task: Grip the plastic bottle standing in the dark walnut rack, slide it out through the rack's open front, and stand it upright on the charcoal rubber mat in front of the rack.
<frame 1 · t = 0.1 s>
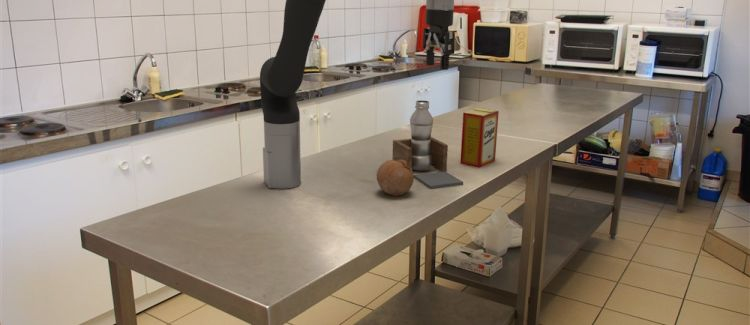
hand: (437, 67, 173), 29 cm above the table, fingers open, 8 cm apart
walnut rack: (419, 169, 179), on the table
rubber mat: (437, 181, 169), on the table
baking soda box: (477, 163, 187), on the table
plastic bottle: (419, 170, 179), on the table
onion: (394, 194, 159), on the table
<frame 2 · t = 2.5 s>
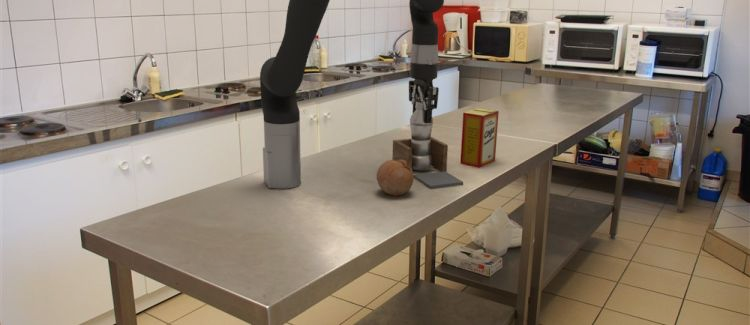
hand: (421, 120, 174), 15 cm above the table, fingers closed on plastic bottle, 6 cm apart
plastic bottle: (419, 170, 179), on the table, touching gripper
everything else where it was.
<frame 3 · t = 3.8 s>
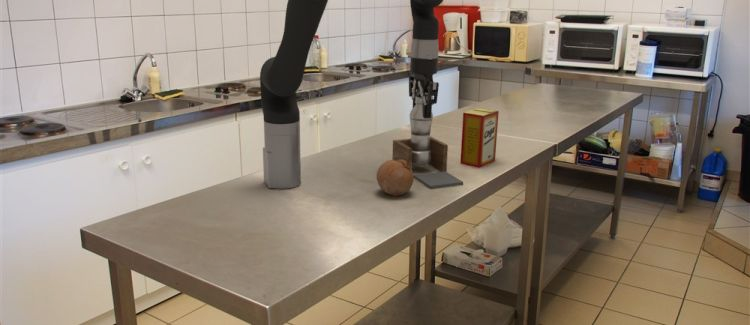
hand: (421, 115, 174), 16 cm above the table, fingers closed on plastic bottle, 6 cm apart
plastic bottle: (419, 166, 178), point 1 cm above the table, touching gripper
everything else where it was.
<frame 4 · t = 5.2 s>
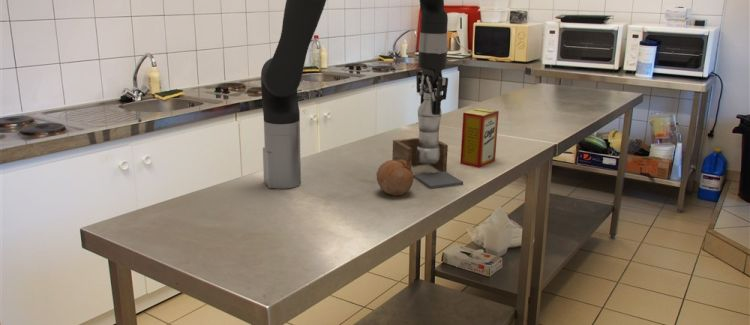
hand: (430, 111, 169), 18 cm above the table, fingers closed on plastic bottle, 6 cm apart
plastic bottle: (427, 163, 174), point 3 cm above the table, touching gripper
everything else where it was.
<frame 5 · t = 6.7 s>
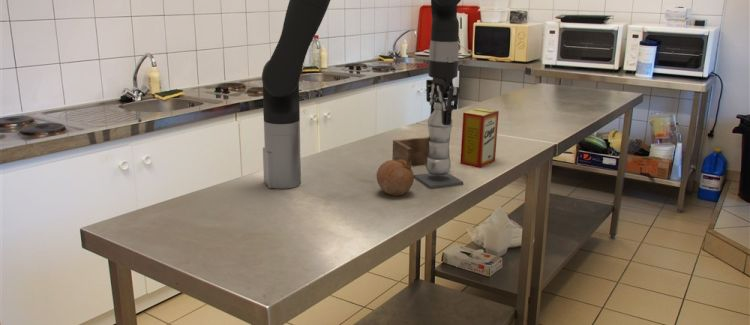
hand: (440, 121, 164), 17 cm above the table, fingers closed on plastic bottle, 6 cm apart
plastic bottle: (437, 175, 168), point 2 cm above the table, touching gripper
everything else where it was.
when the fingers open (16 cm above the table, at t = 7.6 s): plastic bottle stays where it is, resting on rubber mat.
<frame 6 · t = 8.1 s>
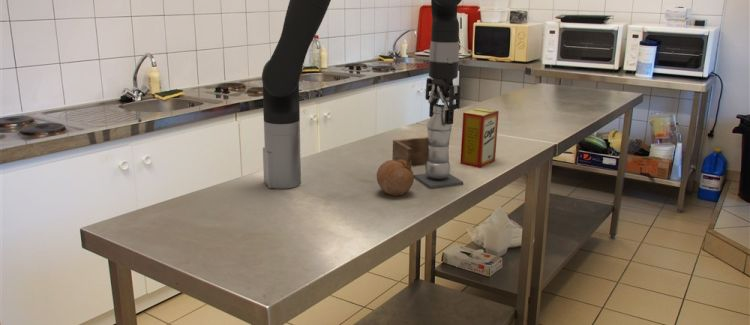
hand: (440, 120, 164), 17 cm above the table, fingers open, 8 cm apart
plastic bottle: (437, 178, 169), point 1 cm above the table, touching rubber mat
everything else where it was.
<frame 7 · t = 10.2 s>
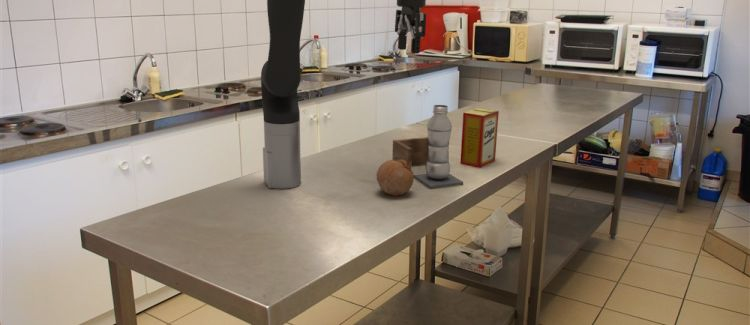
hand: (408, 51, 164), 34 cm above the table, fingers open, 8 cm apart
nothing on the table moved.
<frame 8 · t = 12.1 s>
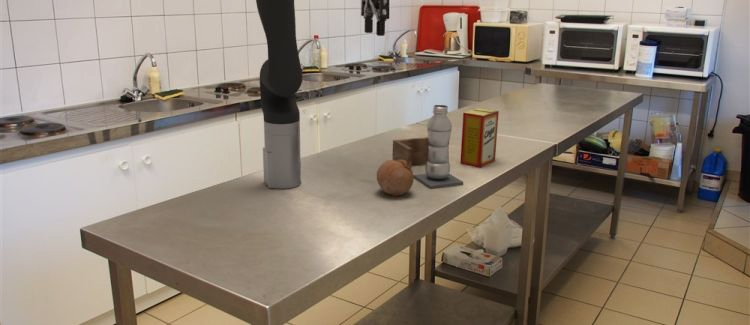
hand: (374, 34, 169), 38 cm above the table, fingers open, 8 cm apart
nothing on the table moved.
at the end: plastic bottle 0.2 cm off-centre on the rubber mat, point 0.6 cm above the rubber mat's base; plastic bottle tilted 0°; the gripper is holding nothing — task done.
